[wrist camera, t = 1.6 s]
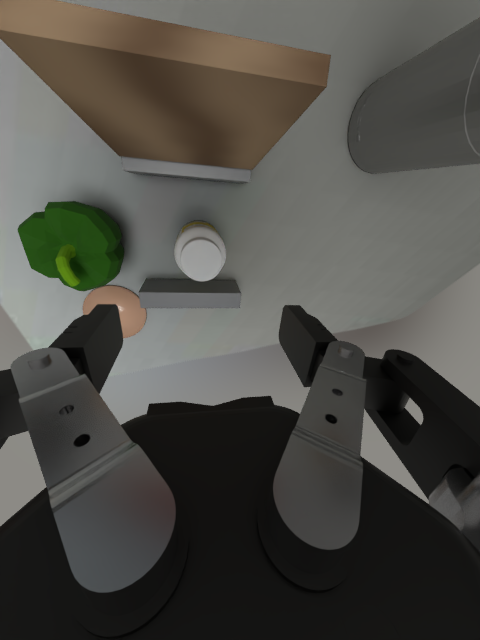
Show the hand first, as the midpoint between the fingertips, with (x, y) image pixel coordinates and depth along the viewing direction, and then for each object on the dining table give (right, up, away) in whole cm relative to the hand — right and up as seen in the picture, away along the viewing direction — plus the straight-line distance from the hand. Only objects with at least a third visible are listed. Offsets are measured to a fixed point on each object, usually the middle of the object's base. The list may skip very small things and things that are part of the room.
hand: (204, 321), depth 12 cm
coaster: (-15, +1, +22) cm, 27 cm away
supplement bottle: (-3, +10, +19) cm, 22 cm away
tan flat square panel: (-2, +12, +4) cm, 13 cm away
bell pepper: (-16, +10, +17) cm, 25 cm away
